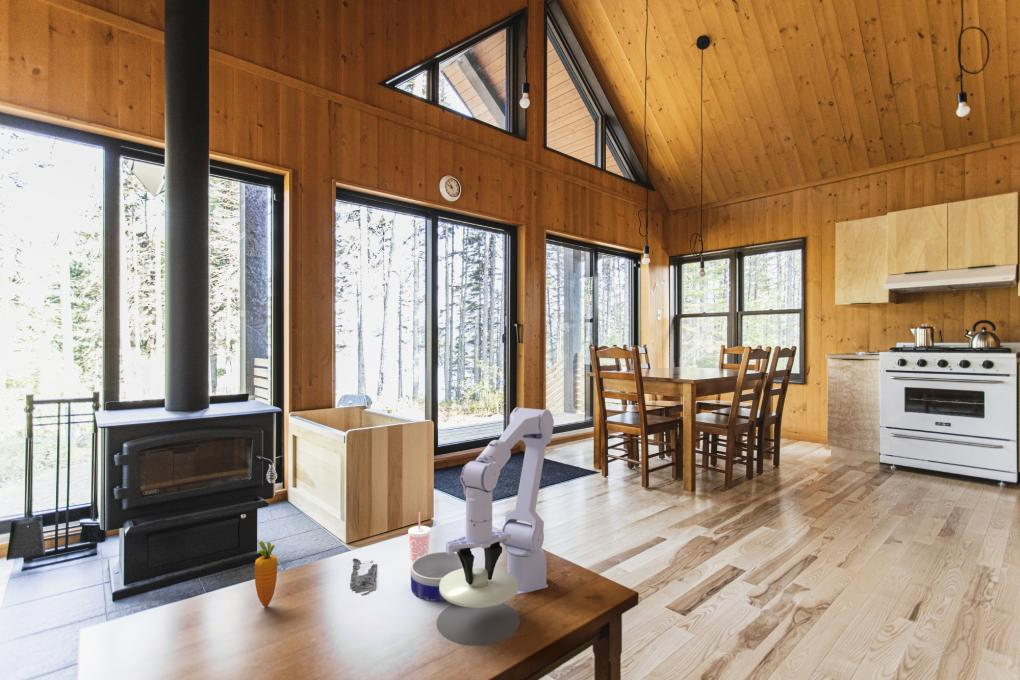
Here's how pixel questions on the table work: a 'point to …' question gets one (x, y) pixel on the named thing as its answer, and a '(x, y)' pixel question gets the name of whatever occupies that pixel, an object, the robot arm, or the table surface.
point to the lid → (478, 588)
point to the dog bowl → (432, 574)
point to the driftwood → (362, 579)
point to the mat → (478, 624)
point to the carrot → (265, 574)
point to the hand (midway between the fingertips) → (478, 580)
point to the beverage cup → (418, 541)
